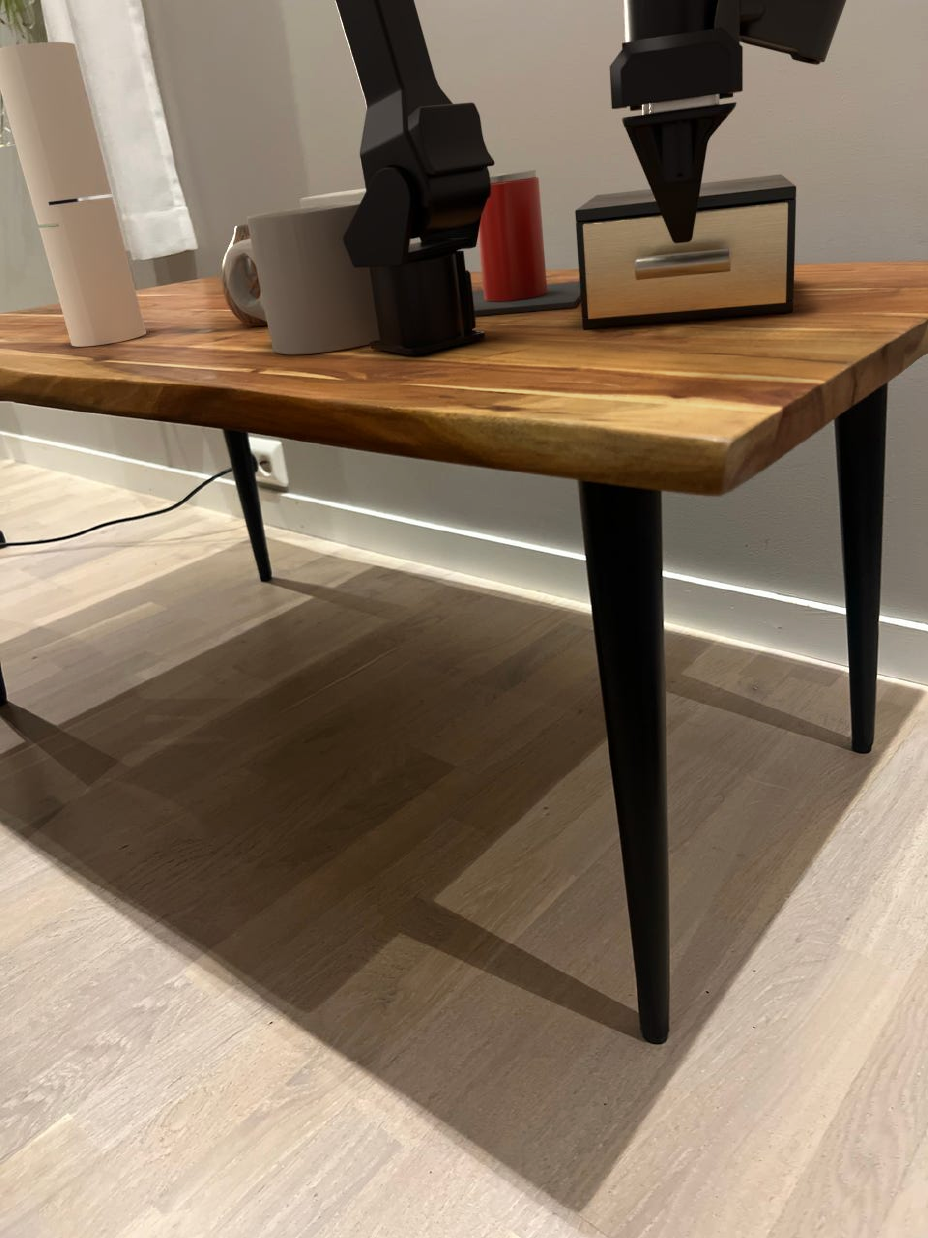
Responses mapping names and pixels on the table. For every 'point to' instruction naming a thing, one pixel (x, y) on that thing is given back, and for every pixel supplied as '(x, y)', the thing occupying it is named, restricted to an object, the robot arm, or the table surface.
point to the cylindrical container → (70, 191)
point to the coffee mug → (305, 280)
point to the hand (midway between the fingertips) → (682, 241)
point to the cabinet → (709, 197)
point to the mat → (531, 300)
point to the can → (512, 239)
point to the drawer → (687, 262)
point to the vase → (250, 280)
